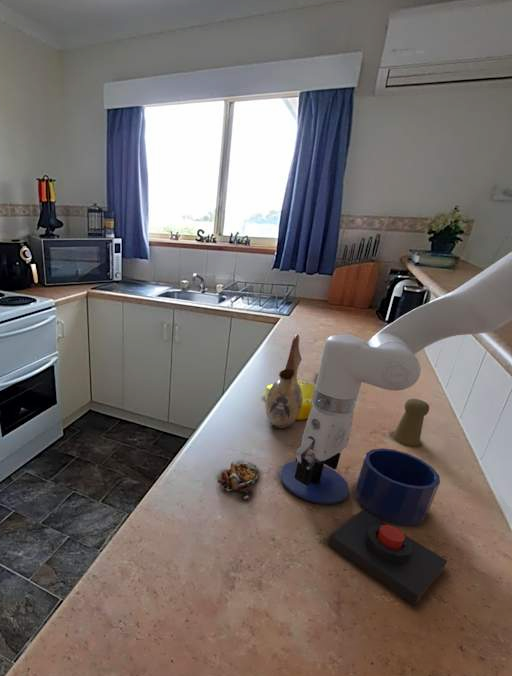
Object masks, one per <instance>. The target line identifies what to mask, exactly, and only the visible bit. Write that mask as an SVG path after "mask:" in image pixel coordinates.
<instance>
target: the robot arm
mask: <svg viewBox="0 0 512 676" xmlns="http://www.w3.org/2000/svg"><path fill="white" fill-rule="evenodd" d="M511 321H512V251H510V252H509V253H508V254H506V255H504V256H502V257H501V258H500V259H499V260H497V261H496V262H494V263H493V264H491V265H490V266H488V267H487V268H485V269H483V270H482V271H481V272H480V273H478V274H477V275H474V276H473V277H472V278H471V279H469V280H468V281H466V282H464V283H463V284H462V285H460V286H459V287H457V288H455V289H454V290H452V291H450V292H448V293H446V294H444V295H441V296H439V297H436V298H435V299H433V300H430V301H428V302H426V303H424V304H422V305H419V306H417V307H416V308H414V309H412V310H410V311H408V312H407V313H404V314H403V315H401V316H400V317H398V318H396V319H395V320H394V321H393V322H391V323H389V324H388V325H387V326H385V327H384V328H382V329H380V331H378V332H377V333H375V334H374V335H373V336H372V337H370V339H369V340H368V341H367V340H365V339H363V338H361V337H358V336H354V335H350V334H333V335H330V336H329V337H328V338H327V339H326V340H325V342H324V345H323V349H322V355H321V358H320V359H321V360H320V364H319V368H318V373H317V377H316V382H315V385H314V386H315V391H314V395H313V399H312V405H313V407H312V409H311V412H310V415H309V418H307V421H306V423H305V428H304V431H303V435H302V439H301V445H299V447H298V448H297V449H296V451H295V453H294V455H295V461H297V469H296V473H295V479H296V480H298V481H300V482H301V483H303V484H304V485H306V486H309V485H310V482H311V478H312V474H313V470H314V469H312V467H313V465H314V463H315V462H316V460H317V459H318V460H319V461H324V460H325V463H324V466H327V467H329V468H331V469H332V470H336V469H338V464H339V461H340V458H341V453H342V451H344V450H345V449H346V448H347V447H348V443H349V439H350V436H351V435H350V434H351V430H352V425H353V420H354V419H353V418H354V412H355V408H356V404H357V400H358V396H359V393H360V389H361V385H362V383H364V384H367V385H370V386H373V387H376V388H380V389H382V390H388V391H404V390H407V389H410V388H411V387H413V386H414V385H415V384H416V383H417V382H418V381H419V379H420V377H421V371H422V369H421V364H420V361H419V360H418V358H417V356H416V354H417V353H419V352H421V351H422V350H424V349H425V348H427V347H429V346H431V345H432V344H434V343H437V342H439V341H442V340H444V339H448V338H452V337H456V336H457V337H458V336H465V335H467V336H468V335H479V334H485V333H490V332H493V331H496V330H498V329H499V328H501V327H503V326H505V325H506V324H508V323H510V322H511ZM310 450H312V451H313V452H311V451H310ZM307 455H308V456H309V457H311V458H310V460H308V459H306V457H307ZM308 461H310V462H308Z"/></svg>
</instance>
